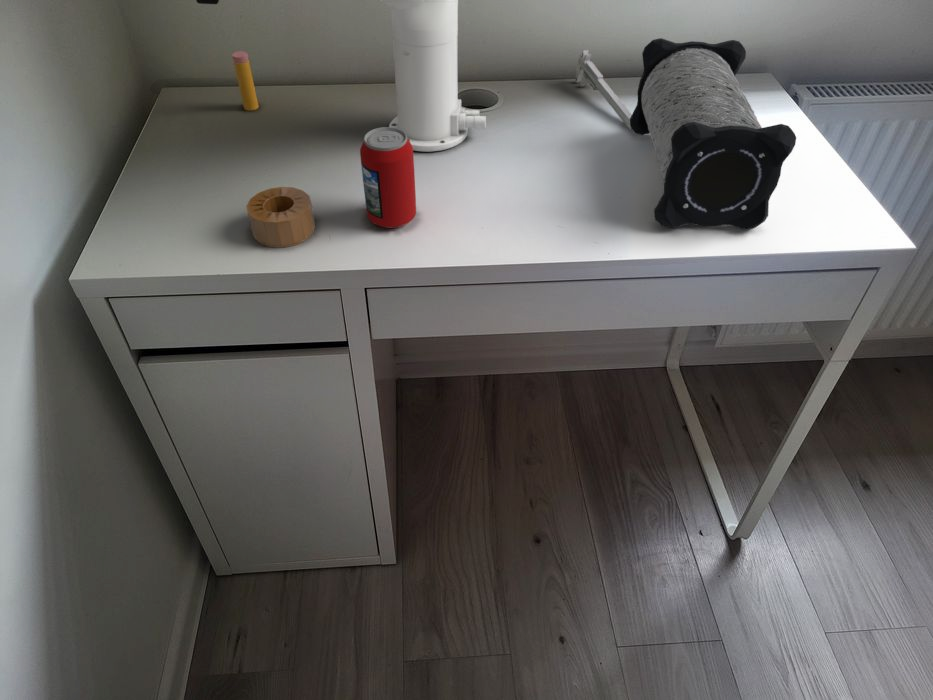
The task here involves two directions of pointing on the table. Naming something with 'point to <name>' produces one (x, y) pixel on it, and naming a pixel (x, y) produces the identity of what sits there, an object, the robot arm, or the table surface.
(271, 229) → the brown wooden ring
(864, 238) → the table surface
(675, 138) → the speaker
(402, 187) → the beverage can
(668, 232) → the table surface
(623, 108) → the caliper
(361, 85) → the table surface
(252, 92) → the pencil
